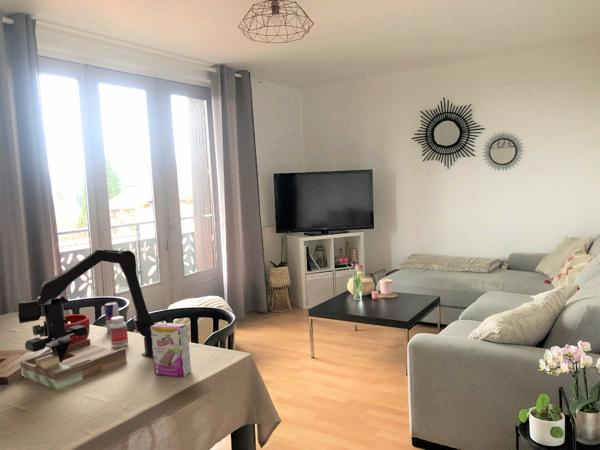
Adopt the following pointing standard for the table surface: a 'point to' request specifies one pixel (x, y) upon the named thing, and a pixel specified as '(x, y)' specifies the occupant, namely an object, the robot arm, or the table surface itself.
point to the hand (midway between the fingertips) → (60, 362)
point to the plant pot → (74, 321)
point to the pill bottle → (118, 332)
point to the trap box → (74, 365)
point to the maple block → (48, 362)
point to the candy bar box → (170, 349)
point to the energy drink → (111, 313)
